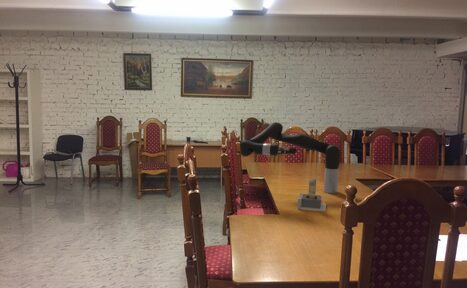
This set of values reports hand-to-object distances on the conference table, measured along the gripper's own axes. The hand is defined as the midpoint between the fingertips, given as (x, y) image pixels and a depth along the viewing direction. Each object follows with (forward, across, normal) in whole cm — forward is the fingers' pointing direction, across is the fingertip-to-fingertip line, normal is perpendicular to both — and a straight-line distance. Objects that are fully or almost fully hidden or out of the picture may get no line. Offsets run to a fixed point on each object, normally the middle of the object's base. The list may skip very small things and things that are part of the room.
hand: (295, 151), depth 228 cm
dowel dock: (+12, -10, +32) cm, 36 cm away
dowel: (+12, -10, +31) cm, 35 cm away
